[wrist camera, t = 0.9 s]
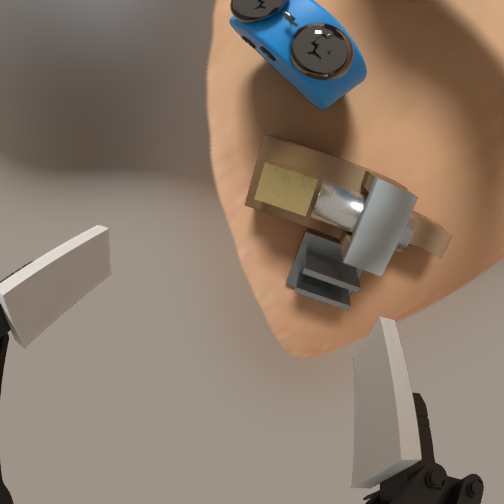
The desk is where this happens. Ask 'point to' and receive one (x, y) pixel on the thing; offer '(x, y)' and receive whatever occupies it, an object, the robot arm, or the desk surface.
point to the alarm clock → (302, 46)
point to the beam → (373, 213)
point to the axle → (348, 210)
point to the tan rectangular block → (286, 186)
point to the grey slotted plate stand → (323, 271)
